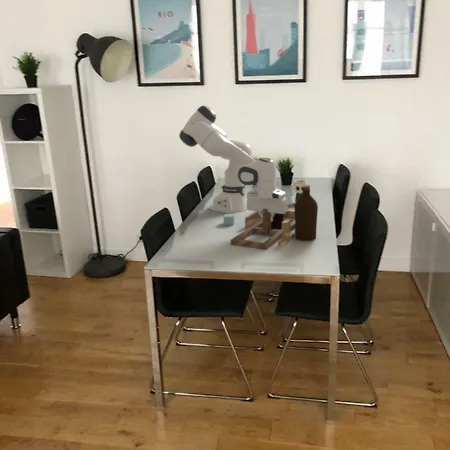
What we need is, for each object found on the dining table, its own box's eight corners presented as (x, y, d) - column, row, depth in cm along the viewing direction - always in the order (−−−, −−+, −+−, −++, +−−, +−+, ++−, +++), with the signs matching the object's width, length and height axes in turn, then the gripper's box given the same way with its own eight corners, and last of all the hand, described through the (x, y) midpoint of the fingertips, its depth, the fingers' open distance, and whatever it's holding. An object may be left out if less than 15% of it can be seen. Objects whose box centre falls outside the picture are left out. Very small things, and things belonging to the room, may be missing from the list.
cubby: (245, 228, 258) (244, 217, 257) (262, 217, 275) (261, 207, 273) (297, 235, 245) (297, 223, 243) (312, 223, 262) (312, 212, 260)
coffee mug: (283, 232, 251) (283, 212, 248) (266, 231, 253) (265, 212, 250) (285, 225, 262) (285, 206, 259) (268, 224, 263) (268, 205, 260)
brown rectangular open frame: (230, 244, 235) (229, 217, 231) (267, 220, 269) (267, 196, 265) (266, 250, 227) (265, 221, 223) (299, 224, 261) (300, 199, 257)
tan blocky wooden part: (277, 246, 232) (277, 225, 229) (289, 237, 244) (289, 217, 240) (283, 247, 231) (283, 226, 228) (294, 237, 242) (294, 217, 239)
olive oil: (311, 243, 234) (311, 190, 226) (290, 240, 240) (290, 187, 232) (321, 237, 242) (322, 185, 234) (300, 233, 248) (301, 183, 240)
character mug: (290, 204, 299) (290, 182, 295) (291, 201, 306) (291, 179, 302) (309, 204, 297) (310, 182, 293) (310, 201, 304) (310, 179, 300)
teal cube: (223, 226, 264) (223, 216, 263) (225, 223, 269) (224, 214, 268) (233, 226, 264) (233, 216, 262) (234, 223, 268) (234, 214, 267)
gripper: (243, 192, 244) (244, 220, 248) (283, 196, 235) (284, 224, 239) (249, 189, 249) (250, 216, 254) (289, 192, 240) (289, 221, 244)
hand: (267, 220), depth 246 cm, fingers closed on brown rectangular open frame, 3 cm apart
